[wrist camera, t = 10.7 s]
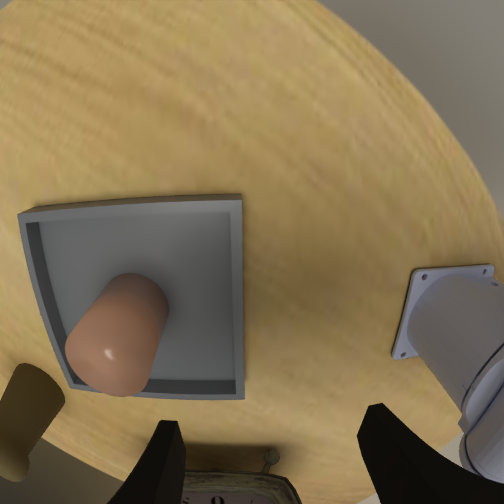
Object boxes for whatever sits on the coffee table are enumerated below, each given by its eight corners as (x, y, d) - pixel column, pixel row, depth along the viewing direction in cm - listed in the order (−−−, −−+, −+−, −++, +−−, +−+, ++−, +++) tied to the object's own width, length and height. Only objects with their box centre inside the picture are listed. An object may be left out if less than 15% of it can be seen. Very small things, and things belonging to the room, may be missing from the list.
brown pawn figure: (6, 361, 21) (-46, 436, 10) (47, 364, 21) (-7, 455, 10) (33, 405, 23) (-5, 480, 12) (75, 411, 23) (40, 498, 13)
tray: (240, 193, 17) (242, 200, 15) (243, 381, 22) (244, 399, 20) (34, 207, 16) (17, 214, 14) (78, 372, 21) (70, 388, 19)
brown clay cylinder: (165, 274, 18) (140, 330, 12) (172, 336, 20) (155, 400, 14) (98, 272, 18) (54, 322, 12) (110, 331, 19) (79, 390, 14)
